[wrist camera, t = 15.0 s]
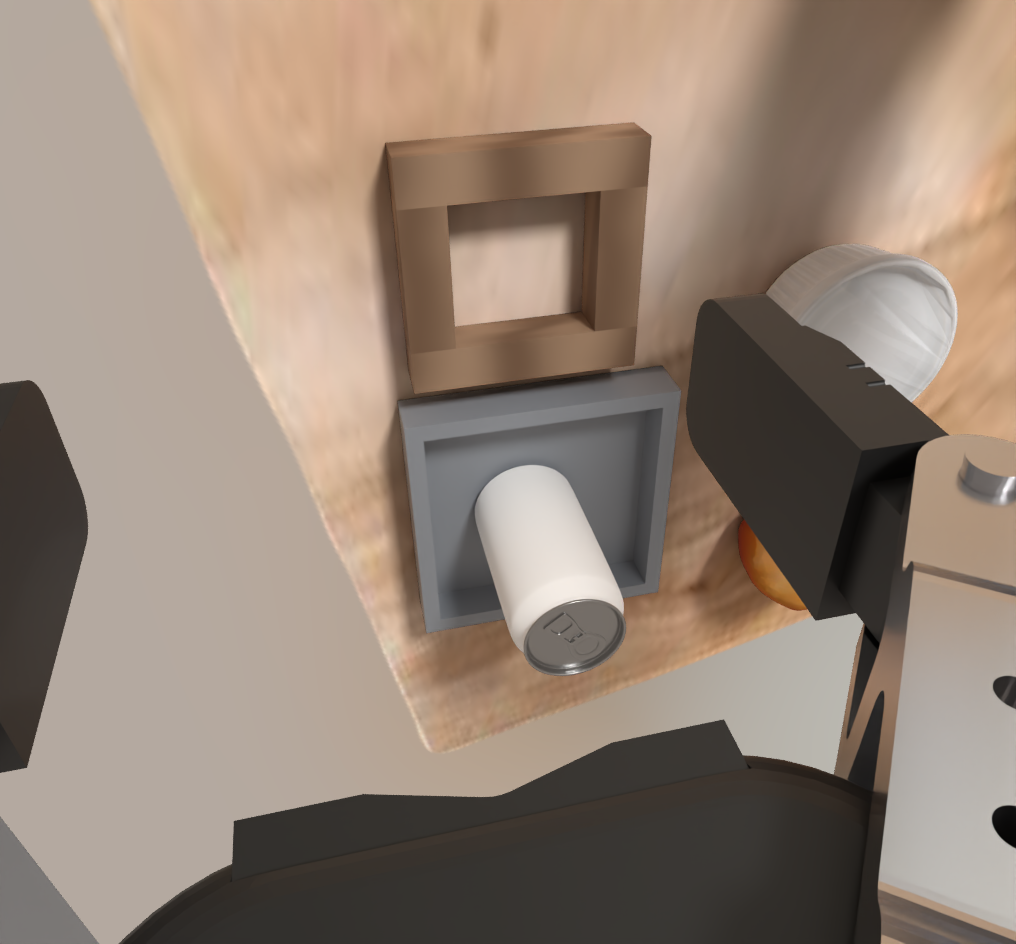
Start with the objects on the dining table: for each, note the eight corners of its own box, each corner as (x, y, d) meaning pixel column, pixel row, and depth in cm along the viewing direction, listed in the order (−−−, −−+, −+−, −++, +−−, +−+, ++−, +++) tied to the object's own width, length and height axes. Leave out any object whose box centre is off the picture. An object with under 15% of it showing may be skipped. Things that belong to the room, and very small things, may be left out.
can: (515, 557, 57) (563, 697, 48) (451, 506, 54) (490, 647, 44) (590, 498, 56) (656, 632, 46) (531, 442, 52) (589, 574, 43)
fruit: (734, 604, 64) (777, 634, 56) (708, 503, 63) (749, 519, 55) (835, 574, 64) (893, 599, 56) (811, 473, 63) (866, 484, 55)
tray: (662, 365, 52) (681, 390, 49) (643, 563, 61) (658, 591, 59) (397, 400, 49) (404, 428, 47) (420, 601, 58) (426, 633, 56)
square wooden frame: (633, 122, 43) (651, 135, 41) (619, 344, 50) (633, 365, 48) (385, 143, 41) (391, 158, 39) (408, 371, 48) (414, 393, 46)
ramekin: (931, 223, 50) (990, 257, 46) (872, 389, 57) (920, 432, 52) (756, 226, 48) (803, 262, 44) (716, 400, 54) (753, 445, 50)
